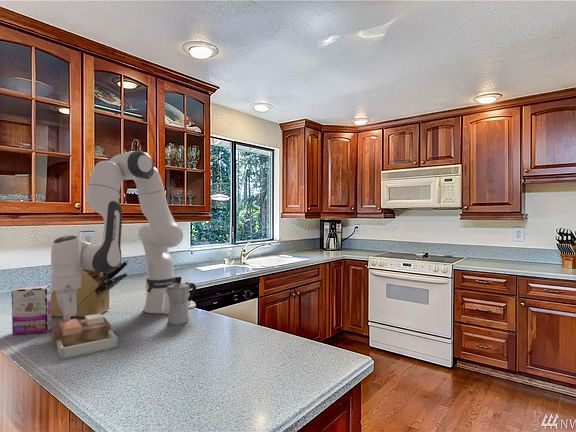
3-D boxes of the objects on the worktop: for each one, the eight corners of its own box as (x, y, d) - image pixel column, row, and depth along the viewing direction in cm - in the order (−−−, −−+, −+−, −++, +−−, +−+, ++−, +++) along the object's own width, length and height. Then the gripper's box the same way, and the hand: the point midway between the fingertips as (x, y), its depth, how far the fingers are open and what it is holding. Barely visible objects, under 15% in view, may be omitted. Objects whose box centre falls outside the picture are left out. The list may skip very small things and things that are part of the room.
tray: (111, 339, 126) (111, 330, 126) (117, 347, 119) (117, 337, 118) (57, 350, 116) (56, 340, 116) (60, 359, 109) (60, 349, 109)
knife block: (117, 318, 148) (117, 243, 147) (33, 317, 149) (32, 242, 148) (130, 310, 159) (130, 240, 158) (52, 309, 160) (51, 240, 159)
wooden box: (103, 329, 135) (103, 316, 135) (111, 339, 126) (111, 324, 125) (52, 339, 125) (52, 325, 125) (57, 350, 116) (56, 334, 116)
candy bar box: (52, 328, 136) (52, 285, 136) (47, 333, 131) (47, 288, 131) (17, 330, 133) (17, 286, 133) (11, 335, 128) (10, 289, 128)
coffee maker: (171, 327, 138) (171, 280, 137) (158, 323, 143) (158, 278, 142) (202, 318, 150) (202, 275, 149) (189, 314, 155) (189, 272, 154)
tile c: (78, 328, 122) (78, 322, 122) (81, 332, 118) (81, 326, 118) (61, 331, 119) (61, 325, 119) (63, 335, 115) (63, 329, 115)
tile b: (76, 324, 126) (76, 318, 126) (78, 328, 122) (78, 322, 122) (59, 327, 123) (59, 321, 122) (61, 331, 119) (61, 325, 119)
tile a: (100, 318, 132) (100, 313, 132) (103, 322, 128) (103, 316, 128) (85, 321, 129) (85, 316, 129) (87, 325, 125) (87, 319, 125)
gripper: (81, 287, 118) (82, 329, 119) (72, 277, 135) (73, 314, 135) (59, 290, 115) (59, 333, 115) (52, 279, 131) (52, 317, 131)
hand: (66, 323), depth 125 cm, fingers closed
